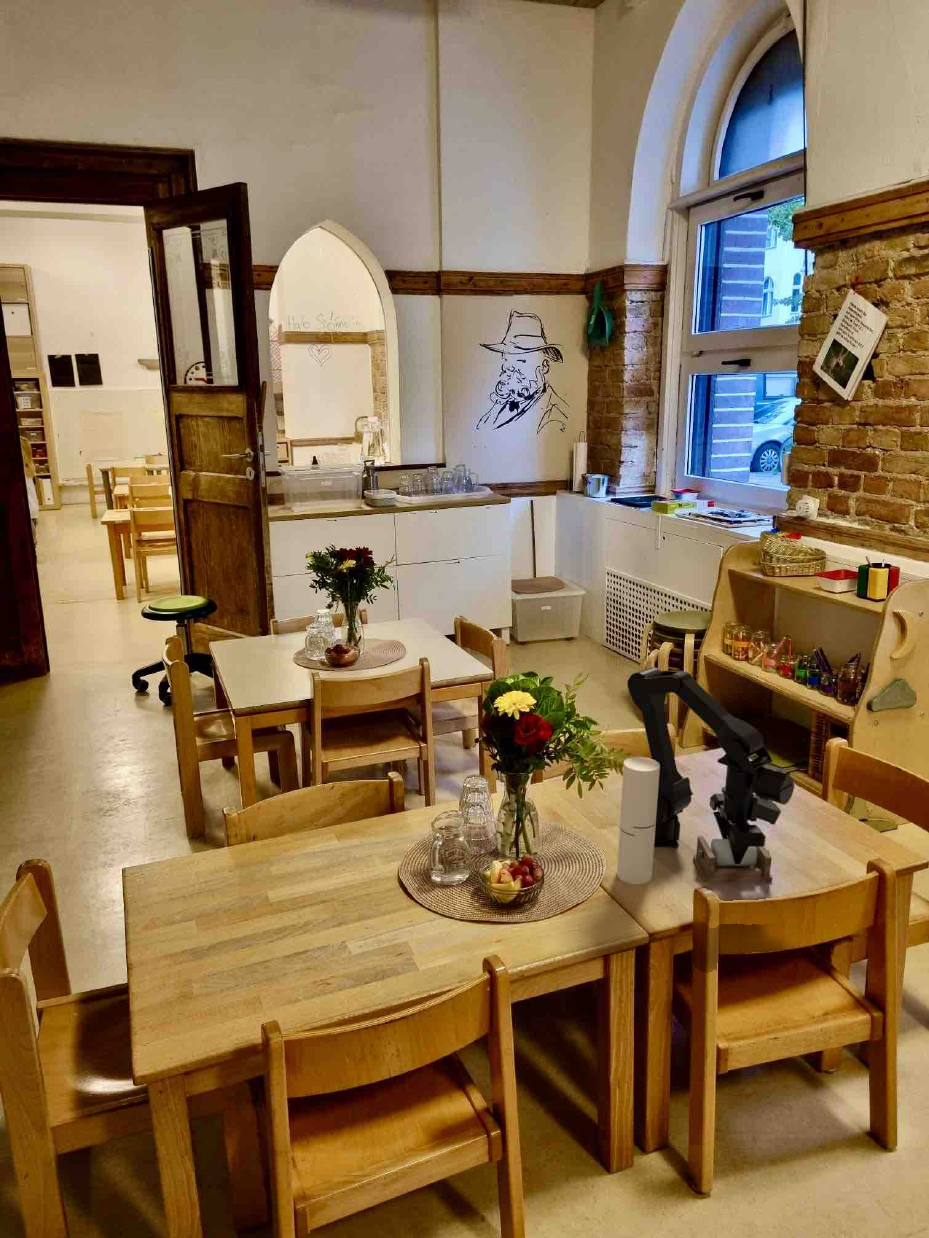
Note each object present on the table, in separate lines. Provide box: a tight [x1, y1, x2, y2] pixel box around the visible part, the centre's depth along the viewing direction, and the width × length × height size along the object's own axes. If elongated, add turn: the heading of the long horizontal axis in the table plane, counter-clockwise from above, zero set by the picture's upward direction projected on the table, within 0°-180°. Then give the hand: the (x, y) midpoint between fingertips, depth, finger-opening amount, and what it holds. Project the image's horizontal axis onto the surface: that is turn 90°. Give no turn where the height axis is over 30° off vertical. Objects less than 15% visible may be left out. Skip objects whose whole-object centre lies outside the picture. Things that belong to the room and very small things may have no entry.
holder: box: [692, 835, 773, 883], centre depth 192 cm, size 15×9×6 cm, turn 91°
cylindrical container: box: [616, 756, 660, 885], centre depth 187 cm, size 7×7×25 cm
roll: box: [710, 838, 757, 866], centre depth 192 cm, size 9×6×6 cm, turn 91°
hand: (732, 856), depth 192 cm, fingers open, 6 cm apart
